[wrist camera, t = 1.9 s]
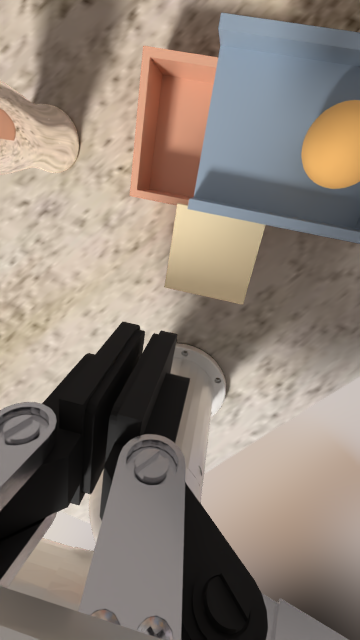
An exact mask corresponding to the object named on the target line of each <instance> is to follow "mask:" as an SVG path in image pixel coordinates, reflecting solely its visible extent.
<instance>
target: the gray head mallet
mask: <svg viewBox="0 0 360 640" xmlns="http://www.w3.org/2000/svg"><path fill="white" fill-rule="evenodd" d="M218 31H219V38H220V51H219V57H218V62H217V68H216V74H215V79H214V85H213V91H212V96H211V102H210V107H209V113H208V119H207V124H206V130H205V136H204V141H203V147H202V153H201V158H200V164H199V170H198V175H197V181H196V187H195V192H194V197H192V198H190V199H189V203H188V205H186V204H181V203H178V204H177V210H176V216H175V222H174V229H173V235H172V242H171V248H170V254H169V261H168V267H167V274H166V280H165V286H164V287H166V288H170V289H175V290H179V291H183V292H188V293H192V294H197V295H201V296H206V297H210V298H215V299H219V300H224V301H228V302H233V303H237V304H241V305H243V303H244V299H245V296H246V292H247V289H248V285H249V282H250V278H251V275H252V271H253V267H254V264H255V260H256V257H257V253H258V250H259V246H260V243H261V239H262V236H263V232H264V229H265V225H269V226H274V227H279V228H284V229H289V230H294V231H299V232H304V233H309V234H314V235H319V236H324V237H329V238H334V239H339V240H344V241H349V242H354V243H359V244H360V182H358V183H356V184H354V185H352V186H349V187H346V188H340V189H330V188H325V187H322V186H320V185H318V184H316V183H314V182H313V181H312V180H311V179H310V178H309V177H308V175H307V174H306V172H305V170H304V168H303V164H302V158H301V152H302V145H303V141H304V138H305V136H306V134H307V131H308V130H309V128H310V126H311V125H312V124H313V122H314V121H315V120H316V119H317V118H318V117H319V116H320V115H321V114H322V113H323V112H324V111H325V110H327V109H329V108H330V107H332V106H334V105H336V104H338V103H341V102H344V101H349V100H360V33H359V32H352V31H345V30H338V29H331V28H324V27H317V26H310V25H303V24H296V23H289V22H283V21H276V20H269V19H262V18H255V17H248V16H241V15H234V14H227V13H221V16H220V22H219V28H218Z"/></svg>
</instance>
